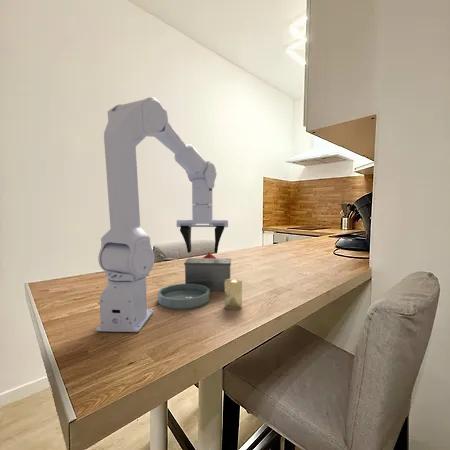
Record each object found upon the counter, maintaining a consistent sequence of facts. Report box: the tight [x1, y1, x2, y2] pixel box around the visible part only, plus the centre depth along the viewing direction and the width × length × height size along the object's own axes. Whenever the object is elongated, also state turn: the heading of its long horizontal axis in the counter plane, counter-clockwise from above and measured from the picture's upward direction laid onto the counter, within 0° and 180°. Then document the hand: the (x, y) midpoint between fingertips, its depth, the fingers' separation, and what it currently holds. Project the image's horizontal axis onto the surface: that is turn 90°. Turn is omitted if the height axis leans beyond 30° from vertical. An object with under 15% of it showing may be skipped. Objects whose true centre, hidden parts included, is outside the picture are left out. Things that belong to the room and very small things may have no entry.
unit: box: [183, 257, 232, 292], centre depth 76 cm, size 6×12×8 cm, turn 88°
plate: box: [156, 283, 211, 310], centre depth 67 cm, size 12×12×2 cm
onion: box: [202, 251, 216, 258], centre depth 88 cm, size 6×6×8 cm
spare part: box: [223, 278, 243, 311], centre depth 62 cm, size 4×4×6 cm
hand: (202, 252), depth 79 cm, fingers open, 7 cm apart
